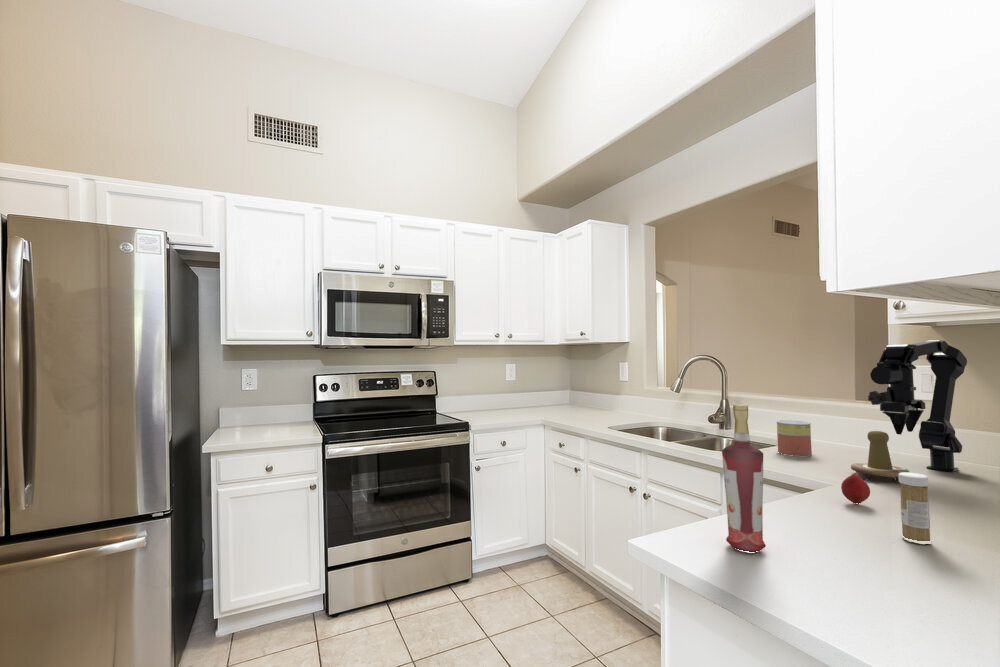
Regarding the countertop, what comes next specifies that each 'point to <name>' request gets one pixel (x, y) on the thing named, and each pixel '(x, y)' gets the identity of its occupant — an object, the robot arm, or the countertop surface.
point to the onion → (855, 488)
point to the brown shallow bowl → (876, 471)
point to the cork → (879, 451)
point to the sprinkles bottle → (915, 506)
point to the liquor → (743, 487)
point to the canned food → (794, 438)
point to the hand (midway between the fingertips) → (904, 433)
